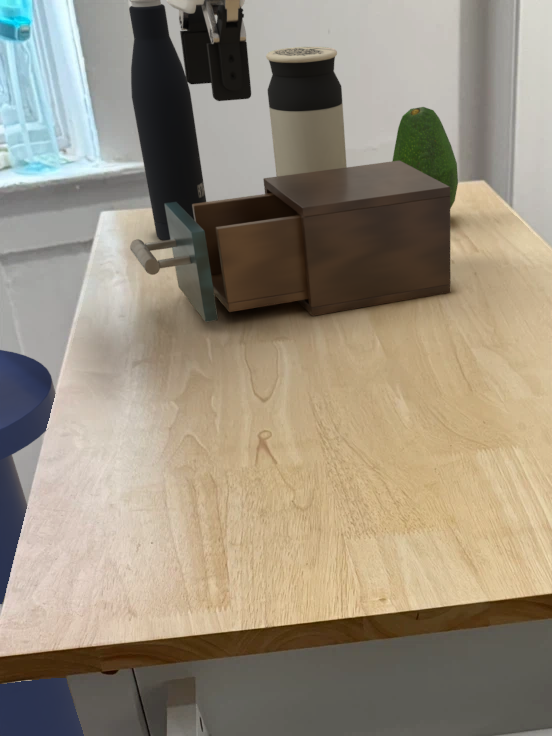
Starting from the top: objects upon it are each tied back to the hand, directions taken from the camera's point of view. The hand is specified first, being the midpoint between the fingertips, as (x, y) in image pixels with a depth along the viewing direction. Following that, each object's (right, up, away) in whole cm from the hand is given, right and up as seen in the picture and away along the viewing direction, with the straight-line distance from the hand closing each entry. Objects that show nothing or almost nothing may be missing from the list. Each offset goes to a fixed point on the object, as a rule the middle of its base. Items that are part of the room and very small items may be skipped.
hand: (218, 90), depth 89 cm
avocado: (+19, +4, +32) cm, 37 cm away
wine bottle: (-10, +3, +32) cm, 34 cm away
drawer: (0, -13, +11) cm, 17 cm away
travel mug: (+6, +2, +30) cm, 31 cm away
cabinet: (+12, -11, +15) cm, 22 cm away
